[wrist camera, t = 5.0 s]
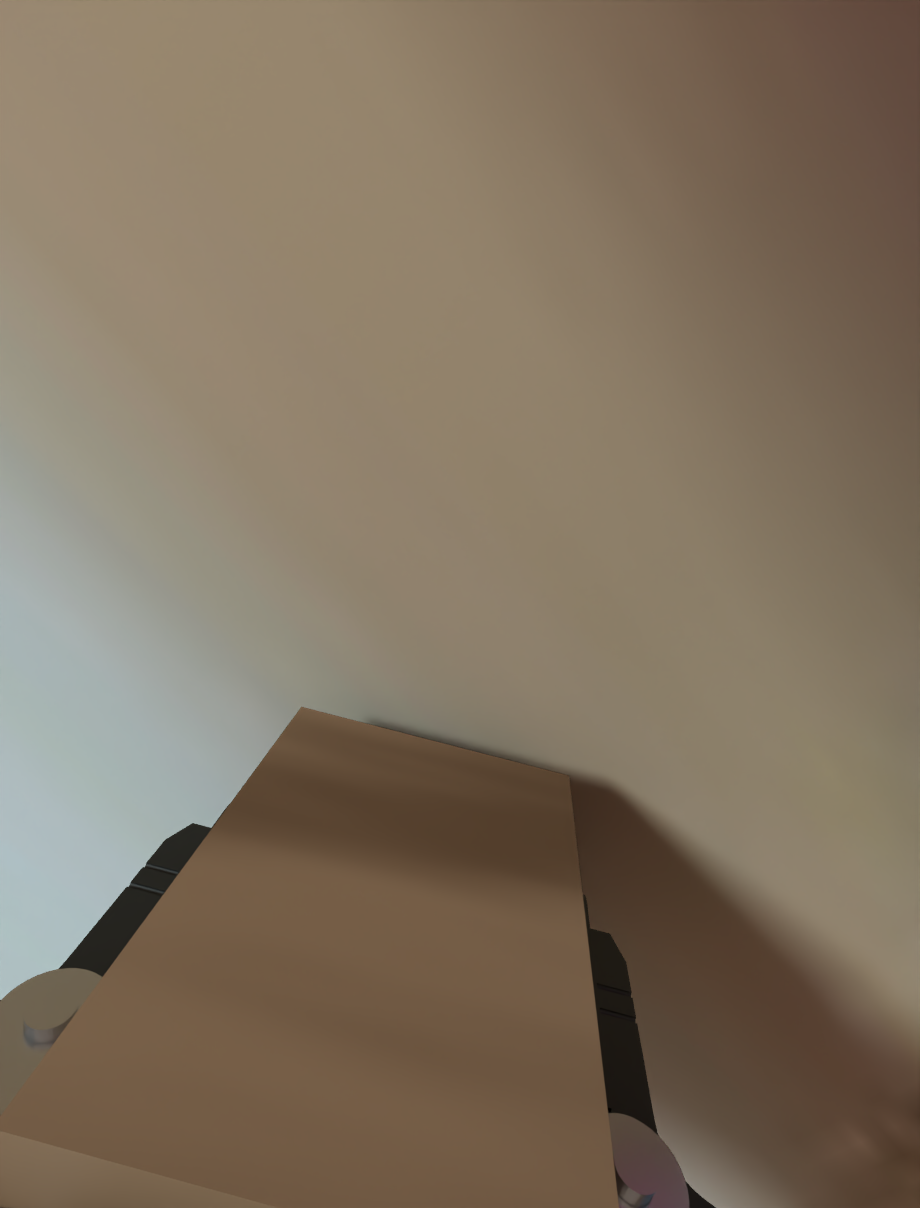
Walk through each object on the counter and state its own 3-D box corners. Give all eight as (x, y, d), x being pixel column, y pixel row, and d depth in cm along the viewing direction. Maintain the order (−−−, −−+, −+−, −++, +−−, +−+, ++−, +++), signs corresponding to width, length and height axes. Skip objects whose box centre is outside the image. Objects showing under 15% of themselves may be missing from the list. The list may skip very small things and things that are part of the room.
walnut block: (301, 707, 11) (-10, 1129, 5) (568, 775, 11) (630, 1304, 5) (267, 916, 13) (-2, 1449, 6) (500, 978, 13) (474, 1585, 6)
